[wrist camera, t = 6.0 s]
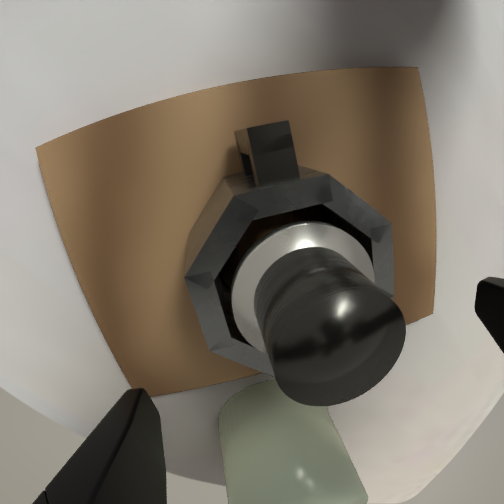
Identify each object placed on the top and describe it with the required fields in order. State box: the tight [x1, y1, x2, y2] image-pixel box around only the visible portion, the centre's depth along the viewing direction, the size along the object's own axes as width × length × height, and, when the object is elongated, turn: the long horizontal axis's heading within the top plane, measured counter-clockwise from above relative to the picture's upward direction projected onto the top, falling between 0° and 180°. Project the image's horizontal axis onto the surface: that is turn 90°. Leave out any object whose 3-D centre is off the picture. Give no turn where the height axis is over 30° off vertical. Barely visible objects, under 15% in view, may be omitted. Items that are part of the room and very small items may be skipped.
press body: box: [184, 120, 394, 377], centre depth 12 cm, size 7×8×5 cm
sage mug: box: [218, 380, 368, 504], centre depth 16 cm, size 7×9×8 cm
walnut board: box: [36, 67, 436, 397], centre depth 15 cm, size 18×14×1 cm
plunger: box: [231, 221, 406, 406], centre depth 10 cm, size 4×4×7 cm
